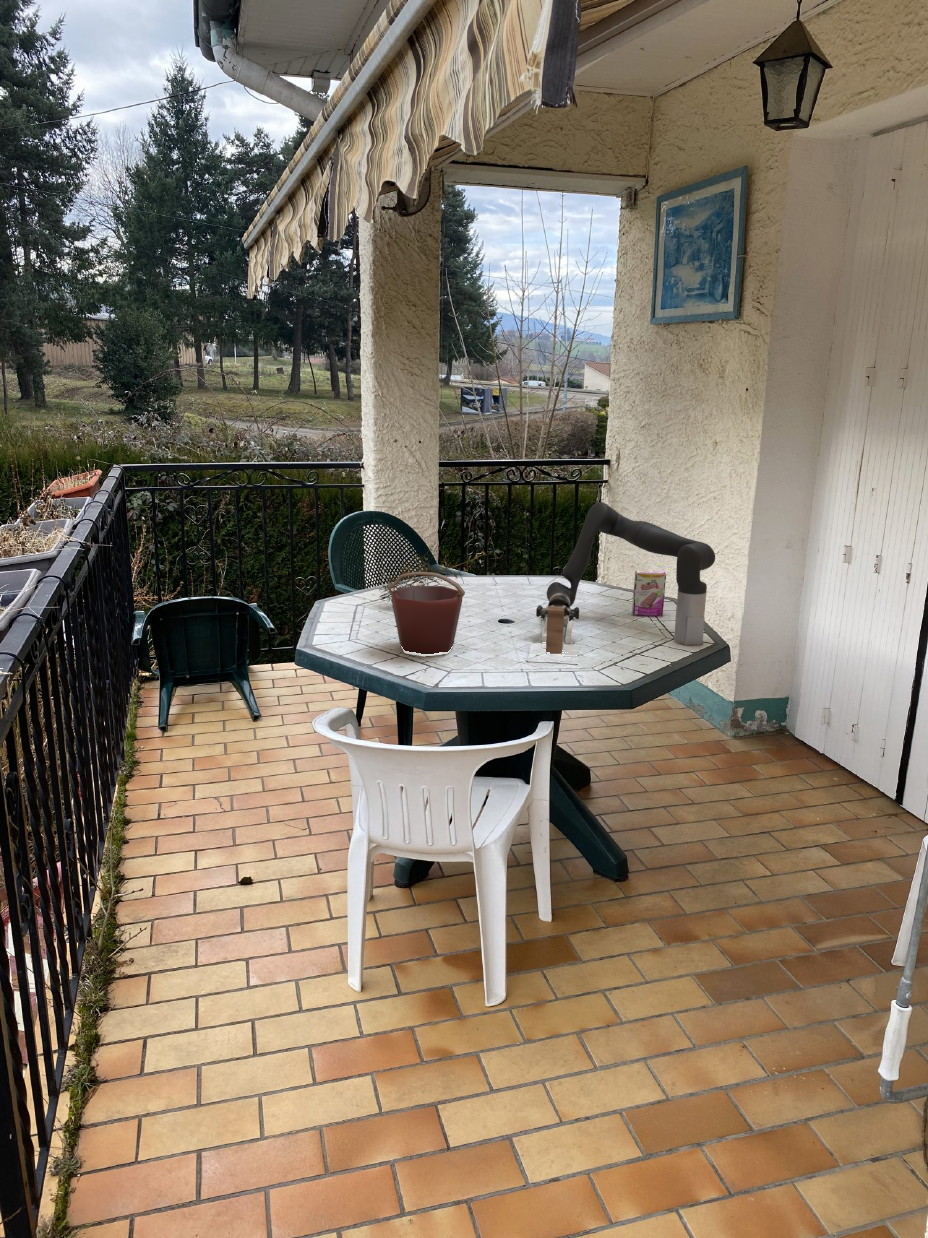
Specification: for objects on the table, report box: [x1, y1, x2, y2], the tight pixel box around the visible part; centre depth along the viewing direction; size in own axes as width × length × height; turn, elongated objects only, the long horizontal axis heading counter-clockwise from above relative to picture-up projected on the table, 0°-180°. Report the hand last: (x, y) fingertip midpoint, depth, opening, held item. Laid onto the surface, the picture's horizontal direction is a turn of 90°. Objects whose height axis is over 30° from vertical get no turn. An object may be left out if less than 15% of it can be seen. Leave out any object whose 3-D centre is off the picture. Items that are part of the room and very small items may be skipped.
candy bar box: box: [631, 569, 667, 617], centre depth 332 cm, size 11×5×16 cm, turn 84°
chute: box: [541, 617, 574, 645], centre depth 308 cm, size 26×9×2 cm, turn 171°
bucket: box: [386, 571, 466, 654], centre depth 285 cm, size 24×22×25 cm
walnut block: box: [546, 606, 565, 653], centre depth 285 cm, size 5×5×14 cm
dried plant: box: [377, 541, 492, 603], centre depth 333 cm, size 30×31×45 cm
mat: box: [543, 643, 581, 662], centre depth 285 cm, size 20×16×1 cm
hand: (556, 617), depth 293 cm, fingers open, 8 cm apart
